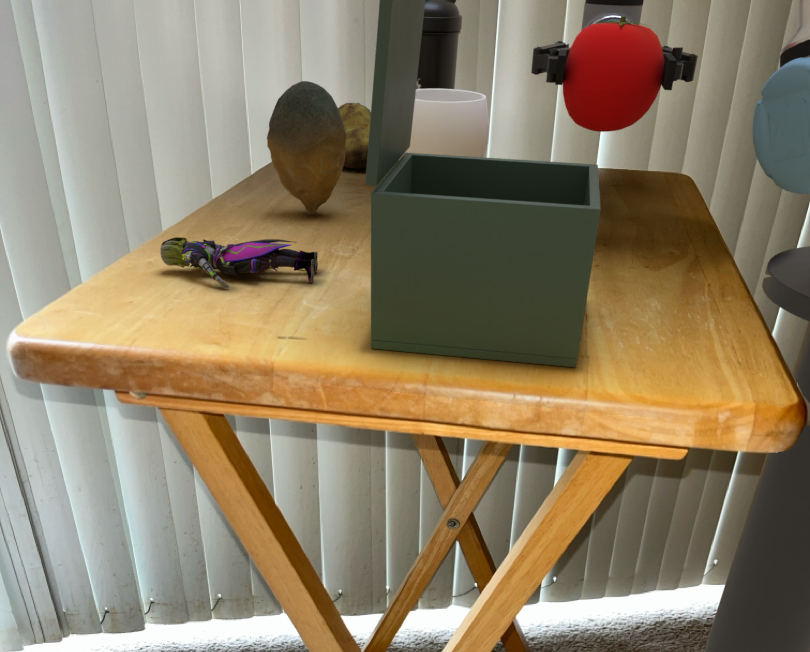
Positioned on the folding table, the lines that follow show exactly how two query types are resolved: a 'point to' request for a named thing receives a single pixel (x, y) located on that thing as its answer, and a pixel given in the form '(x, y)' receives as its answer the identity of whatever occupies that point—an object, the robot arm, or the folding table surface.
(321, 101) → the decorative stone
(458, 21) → the water bottle
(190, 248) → the character figure
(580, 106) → the tomato
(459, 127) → the cup
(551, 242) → the storage box
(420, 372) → the folding table surface
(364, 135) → the potato
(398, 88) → the lid
